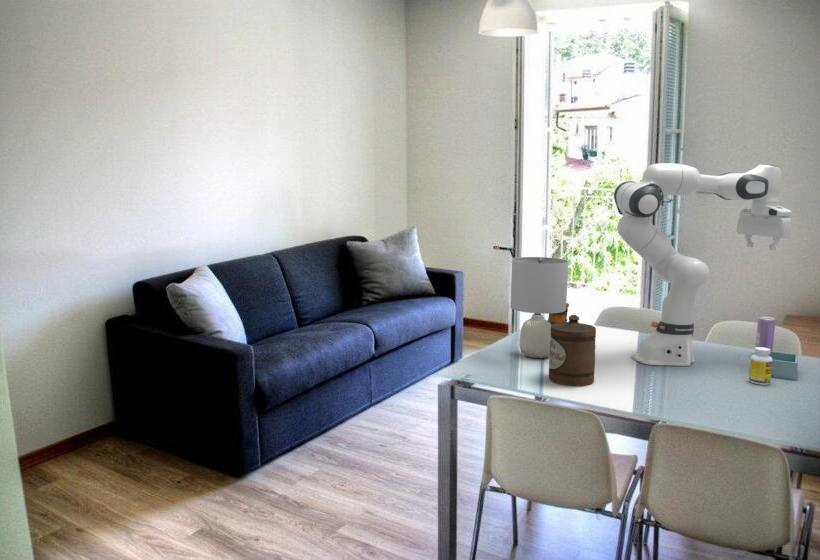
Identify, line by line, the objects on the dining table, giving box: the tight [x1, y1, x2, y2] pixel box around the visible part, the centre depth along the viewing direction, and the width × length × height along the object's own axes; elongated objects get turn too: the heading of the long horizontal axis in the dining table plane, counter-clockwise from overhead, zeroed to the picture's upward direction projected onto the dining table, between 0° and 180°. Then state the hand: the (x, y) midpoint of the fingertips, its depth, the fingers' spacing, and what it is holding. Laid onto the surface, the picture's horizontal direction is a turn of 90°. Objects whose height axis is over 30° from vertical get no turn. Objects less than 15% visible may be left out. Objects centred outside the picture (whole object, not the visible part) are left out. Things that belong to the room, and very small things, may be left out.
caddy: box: [753, 350, 799, 381], centre depth 250 cm, size 14×14×6 cm
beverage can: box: [754, 315, 776, 352], centre depth 272 cm, size 6×6×15 cm
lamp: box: [509, 256, 569, 359], centre depth 266 cm, size 20×20×37 cm
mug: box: [547, 302, 570, 325], centre depth 312 cm, size 13×10×12 cm
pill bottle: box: [748, 347, 773, 386], centre depth 238 cm, size 6×6×12 cm
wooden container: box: [548, 314, 597, 387], centre depth 237 cm, size 15×15×22 cm
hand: (760, 248), depth 259 cm, fingers open, 8 cm apart
